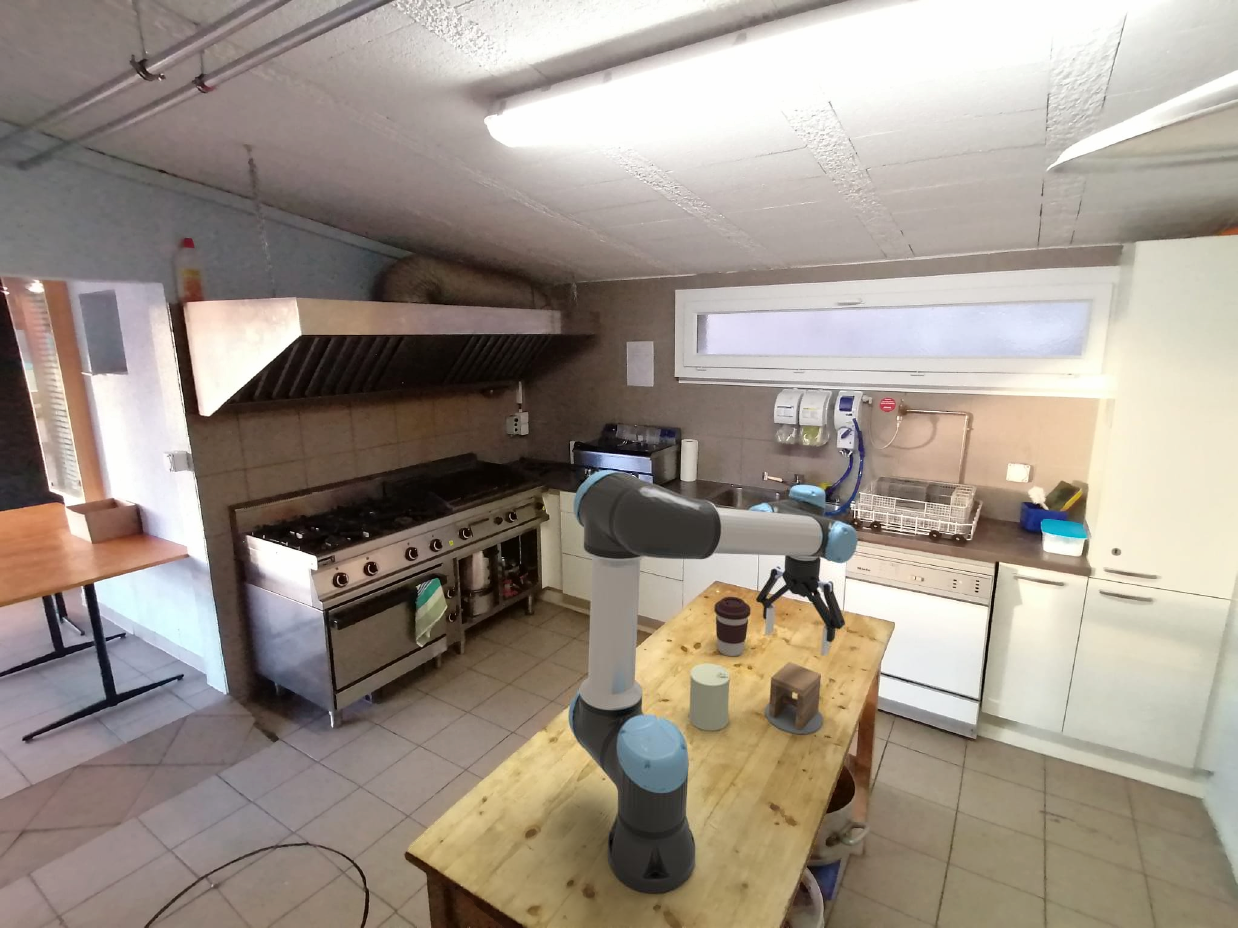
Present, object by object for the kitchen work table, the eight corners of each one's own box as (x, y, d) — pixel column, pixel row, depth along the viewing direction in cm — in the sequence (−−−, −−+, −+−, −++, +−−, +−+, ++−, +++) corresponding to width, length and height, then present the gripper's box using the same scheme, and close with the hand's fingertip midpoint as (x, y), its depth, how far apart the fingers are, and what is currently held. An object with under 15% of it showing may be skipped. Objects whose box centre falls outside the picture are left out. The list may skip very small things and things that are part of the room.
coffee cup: (753, 647, 170) (755, 599, 167) (740, 663, 162) (743, 612, 159) (721, 638, 175) (723, 591, 172) (707, 652, 167) (709, 603, 164)
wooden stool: (818, 712, 140) (821, 674, 138) (801, 730, 133) (803, 690, 131) (786, 698, 145) (789, 661, 143) (768, 715, 139) (771, 677, 136)
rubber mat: (807, 742, 130) (807, 739, 130) (755, 717, 139) (755, 714, 139) (831, 714, 140) (831, 712, 140) (781, 692, 148) (781, 690, 148)
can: (727, 733, 133) (730, 685, 131) (687, 728, 135) (688, 680, 133) (728, 708, 142) (730, 663, 140) (690, 703, 144) (691, 659, 141)
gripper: (866, 564, 125) (857, 655, 130) (761, 537, 142) (756, 619, 146) (852, 574, 120) (843, 669, 124) (744, 545, 136) (740, 630, 141)
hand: (796, 642), depth 135 cm, fingers open, 13 cm apart
